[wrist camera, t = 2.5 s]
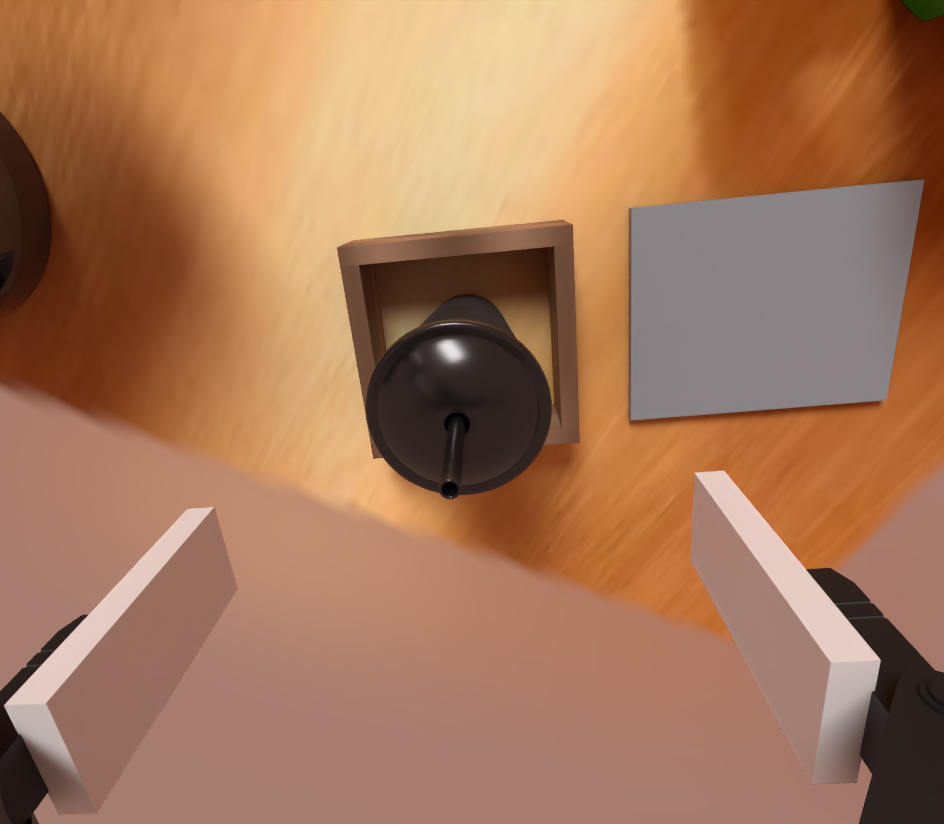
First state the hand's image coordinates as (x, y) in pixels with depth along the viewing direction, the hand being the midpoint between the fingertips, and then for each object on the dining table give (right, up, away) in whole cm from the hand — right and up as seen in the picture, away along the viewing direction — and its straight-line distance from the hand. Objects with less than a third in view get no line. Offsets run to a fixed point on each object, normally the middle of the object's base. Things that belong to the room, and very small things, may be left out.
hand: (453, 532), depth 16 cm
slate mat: (+18, +10, +20) cm, 28 cm away
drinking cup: (0, +8, +21) cm, 22 cm away
